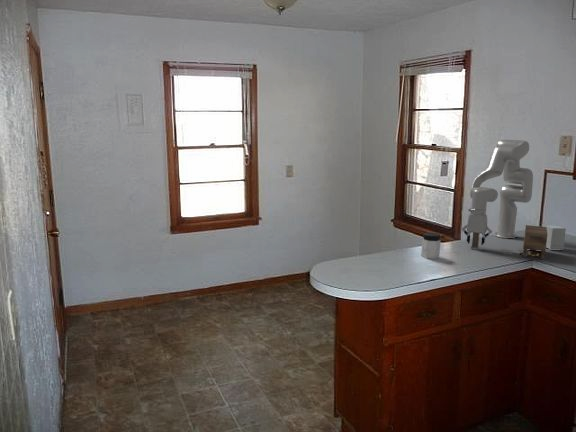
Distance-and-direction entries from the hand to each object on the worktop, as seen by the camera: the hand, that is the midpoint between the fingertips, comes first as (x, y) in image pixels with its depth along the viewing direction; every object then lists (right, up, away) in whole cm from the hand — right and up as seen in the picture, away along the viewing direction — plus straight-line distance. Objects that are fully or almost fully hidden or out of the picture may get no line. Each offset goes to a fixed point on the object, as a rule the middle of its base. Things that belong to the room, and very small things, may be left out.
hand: (475, 243), depth 269 cm
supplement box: (+44, -3, +2) cm, 44 cm away
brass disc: (+26, -6, -12) cm, 29 cm away
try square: (+9, -4, -4) cm, 11 cm away
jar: (-30, -6, -18) cm, 36 cm away
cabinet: (+27, -5, -9) cm, 29 cm away
